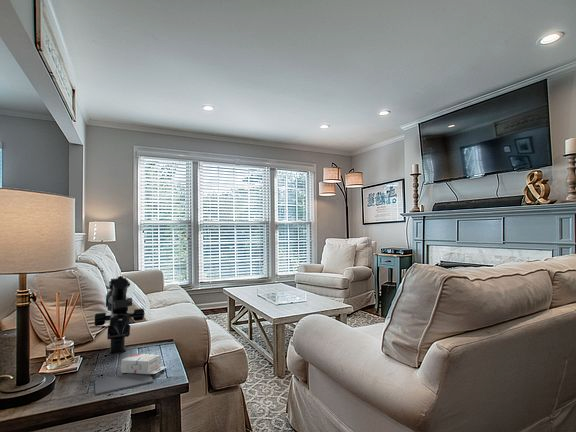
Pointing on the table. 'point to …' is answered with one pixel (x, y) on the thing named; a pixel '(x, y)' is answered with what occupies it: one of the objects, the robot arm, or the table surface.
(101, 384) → the charcoal mat
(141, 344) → the table surface
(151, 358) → the ink cartridge box
